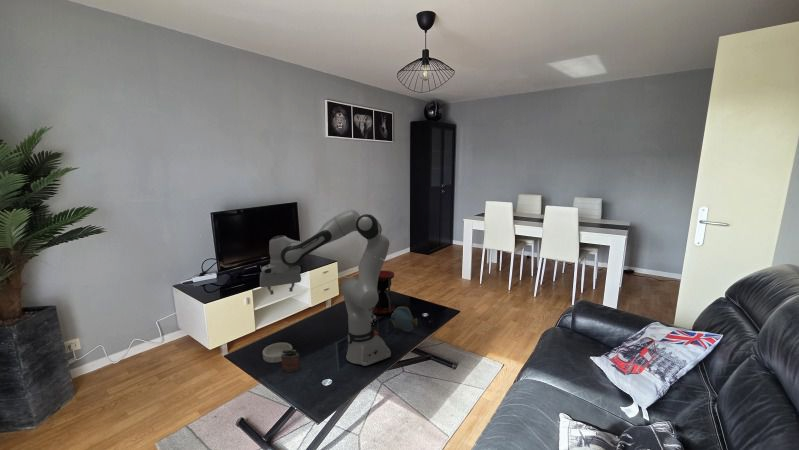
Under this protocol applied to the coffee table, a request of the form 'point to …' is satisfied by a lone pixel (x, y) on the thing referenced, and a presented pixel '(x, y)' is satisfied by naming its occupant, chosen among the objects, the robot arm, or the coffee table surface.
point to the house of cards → (372, 316)
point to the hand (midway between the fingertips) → (281, 292)
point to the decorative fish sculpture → (403, 318)
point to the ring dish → (275, 352)
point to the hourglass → (384, 299)
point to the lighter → (290, 360)
